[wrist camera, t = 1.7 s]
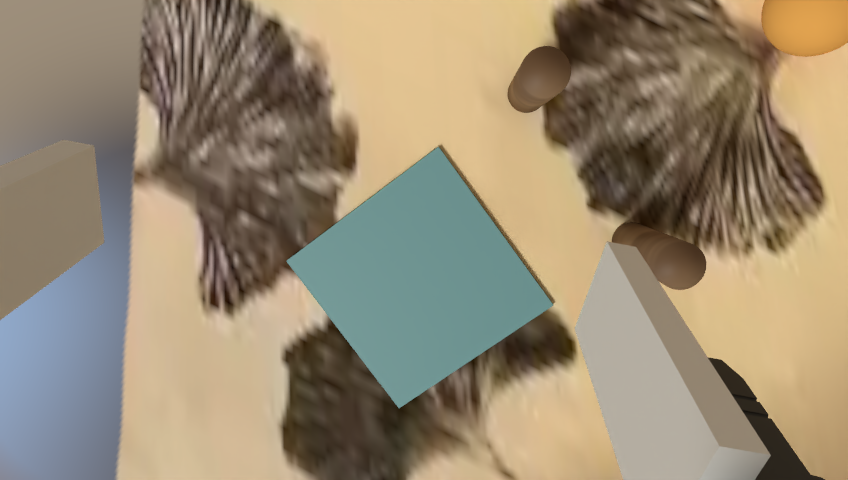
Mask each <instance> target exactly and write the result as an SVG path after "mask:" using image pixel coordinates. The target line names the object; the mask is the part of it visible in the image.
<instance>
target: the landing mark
mask: <svg viewBox="0 0 848 480" xmlns="http://www.w3.org/2000/svg"><path fill="white" fill-rule="evenodd" d="M287 263H288V264H289V265H290V266H291V268H292V269H293V270H294V272H295V273H296V274H297V276H298V277H299V278H300V280H301V281H302V282H303V283H304V285H305V286H306V287H307V289H308V290H309V291H310V293H311V294H312V295H313V297H314V298H315V299H316V300H317V302H318V303H319V304H320V306H321V307H322V308H323V310H324V311H325V312H326V314H327V315H328V316H329V317H330V319H331V320H332V321H333V323H334V324H335V325H336V327H337V328H338V329H339V331H340V332H341V333H342V334H343V336H344V337H345V338H346V340H347V341H348V342H349V344H350V345H351V346H352V348H353V349H354V350H355V351H356V353H357V354H358V355H359V357H360V358H361V359H362V361H363V362H364V363H365V365H366V366H367V367H368V368H369V370H370V371H371V372H372V374H373V375H374V376H375V378H376V379H377V380H378V381H379V383H380V384H381V385H382V387H383V388H384V389H385V391H386V392H387V393H388V395H389V396H390V397H391V398H392V400H393V401H394V402H395V404H396V405H397V406H398V408H400V407H402V406H403V405H405V404H406V403H408V402H409V401H411V400H412V399H414V398H415V397H417V396H418V395H420V394H421V393H423V392H424V391H426V390H427V389H429V388H430V387H432V386H433V385H435V384H436V383H438V382H439V381H441V380H442V379H444V378H445V377H447V376H448V375H450V374H451V373H453V372H454V371H456V370H457V369H459V368H460V367H462V366H463V365H465V364H466V363H468V362H469V361H471V360H472V359H474V358H475V357H477V356H478V355H480V354H481V353H483V352H484V351H486V350H487V349H489V348H490V347H492V346H493V345H495V344H496V343H498V342H499V341H501V340H502V339H504V338H505V337H507V336H508V335H510V334H511V333H513V332H514V331H516V330H517V329H519V328H520V327H522V326H523V325H525V324H526V323H528V322H529V321H531V320H532V319H534V318H535V317H537V316H538V315H540V314H541V313H543V312H544V311H546V310H547V309H549V308H550V307H552V306H553V304H552V302H551V301H550V300H549V298H548V297H547V295H546V294H545V293H544V291H543V290H542V289H541V287H540V286H539V284H538V283H537V282H536V280H535V279H534V278H533V276H532V275H531V273H530V272H529V271H528V269H527V268H526V267H525V265H524V264H523V262H522V261H521V260H520V258H519V257H518V256H517V254H516V253H515V251H514V250H513V249H512V247H511V246H510V244H509V243H508V242H507V240H506V239H505V238H504V236H503V235H502V233H501V232H500V231H499V229H498V228H497V227H496V225H495V224H494V222H493V221H492V220H491V218H490V217H489V216H488V214H487V213H486V211H485V210H484V209H483V207H482V206H481V205H480V203H479V202H478V200H477V199H476V198H475V196H474V195H473V194H472V192H471V191H470V189H469V188H468V187H467V185H466V184H465V182H464V181H463V180H462V178H461V177H460V176H459V174H458V173H457V171H456V170H455V169H454V167H453V166H452V165H451V163H450V162H449V160H448V159H447V158H446V156H445V155H444V154H443V152H442V151H441V149H440V148H439V147H437V148H436V149H435V150H433V151H432V152H431V153H429V154H428V155H427V156H425V157H424V158H423V159H421V160H420V161H419V162H417V163H416V164H415V165H413V166H412V167H411V168H409V169H408V170H407V171H405V172H404V173H403V174H401V175H400V176H399V177H397V178H396V179H395V180H393V181H392V182H391V183H389V184H388V185H387V186H385V187H384V188H383V189H381V190H380V191H379V192H377V193H376V194H375V195H374V196H372V197H371V198H370V199H368V200H367V201H366V202H364V203H363V204H362V205H360V206H359V207H358V208H356V209H355V210H354V211H352V212H351V213H350V214H348V215H347V216H346V217H344V218H343V219H342V220H340V221H339V222H338V223H336V224H335V225H334V226H332V227H331V228H330V229H328V230H327V231H326V232H324V233H323V234H322V235H320V236H319V237H318V238H316V239H315V240H314V241H312V242H311V243H310V244H308V245H307V246H306V247H304V248H303V249H302V250H300V251H299V252H298V253H296V254H295V255H294V256H292V257H291V258H290V259H288V260H287Z"/></svg>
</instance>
